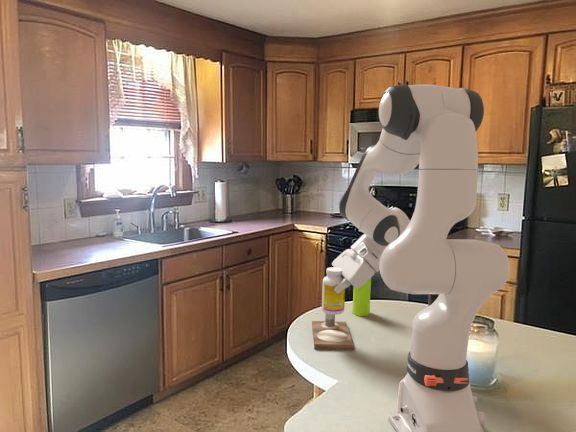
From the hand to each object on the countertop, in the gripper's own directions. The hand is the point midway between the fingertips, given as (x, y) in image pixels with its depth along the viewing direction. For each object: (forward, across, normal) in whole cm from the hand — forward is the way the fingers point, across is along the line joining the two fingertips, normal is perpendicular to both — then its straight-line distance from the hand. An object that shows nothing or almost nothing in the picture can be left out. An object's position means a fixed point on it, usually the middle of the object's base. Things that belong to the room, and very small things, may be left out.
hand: (331, 287), depth 136 cm
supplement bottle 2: (-18, -14, +41) cm, 47 cm away
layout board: (+11, -3, +12) cm, 17 cm away
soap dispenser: (0, -22, +24) cm, 33 cm away
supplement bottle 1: (+5, 0, +6) cm, 8 cm away
